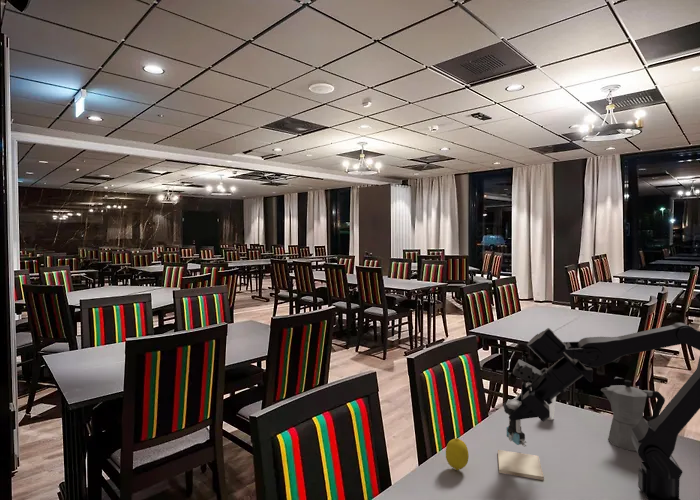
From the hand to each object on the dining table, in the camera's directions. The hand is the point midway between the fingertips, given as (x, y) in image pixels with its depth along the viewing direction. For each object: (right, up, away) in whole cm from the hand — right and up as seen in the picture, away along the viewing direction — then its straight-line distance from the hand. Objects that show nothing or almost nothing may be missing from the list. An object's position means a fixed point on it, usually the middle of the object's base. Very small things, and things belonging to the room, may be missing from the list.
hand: (510, 414), depth 104 cm
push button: (+1, -7, 0) cm, 7 cm away
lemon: (-14, -13, -2) cm, 20 cm away
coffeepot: (+38, -13, +11) cm, 42 cm away
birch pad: (+2, -13, 0) cm, 13 cm away
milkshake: (+23, -12, +27) cm, 38 cm away
